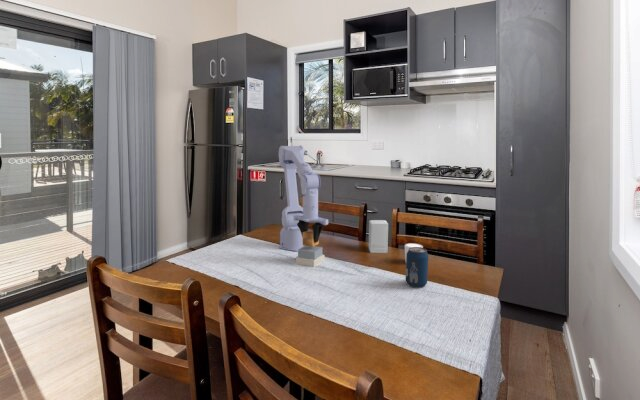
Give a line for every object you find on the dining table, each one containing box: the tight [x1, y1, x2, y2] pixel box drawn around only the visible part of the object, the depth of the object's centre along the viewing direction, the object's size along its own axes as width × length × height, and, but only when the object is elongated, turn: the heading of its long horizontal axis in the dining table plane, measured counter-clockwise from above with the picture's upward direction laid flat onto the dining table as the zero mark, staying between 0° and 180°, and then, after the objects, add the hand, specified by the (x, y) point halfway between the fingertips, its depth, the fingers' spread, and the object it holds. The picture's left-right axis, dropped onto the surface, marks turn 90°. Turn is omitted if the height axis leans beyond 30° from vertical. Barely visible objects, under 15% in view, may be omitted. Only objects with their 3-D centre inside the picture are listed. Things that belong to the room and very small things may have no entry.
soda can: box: [405, 247, 429, 289], centre depth 128 cm, size 7×7×12 cm
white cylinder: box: [404, 242, 424, 264], centre depth 151 cm, size 7×7×7 cm
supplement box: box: [367, 219, 389, 254], centre depth 166 cm, size 7×7×13 cm
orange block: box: [303, 229, 320, 247], centre depth 150 cm, size 4×4×5 cm
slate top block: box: [297, 245, 323, 260], centre depth 151 cm, size 7×7×3 cm
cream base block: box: [295, 253, 326, 268], centre depth 151 cm, size 8×8×3 cm
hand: (310, 241), depth 150 cm, fingers closed on orange block, 4 cm apart
